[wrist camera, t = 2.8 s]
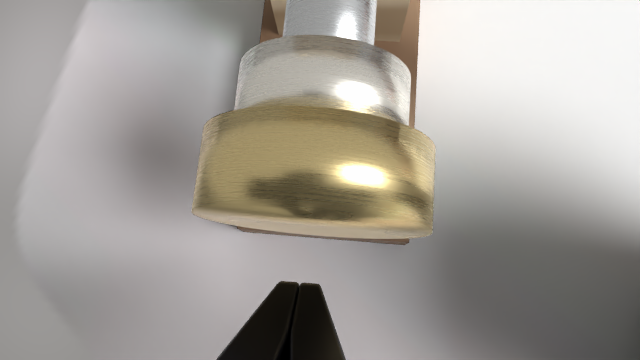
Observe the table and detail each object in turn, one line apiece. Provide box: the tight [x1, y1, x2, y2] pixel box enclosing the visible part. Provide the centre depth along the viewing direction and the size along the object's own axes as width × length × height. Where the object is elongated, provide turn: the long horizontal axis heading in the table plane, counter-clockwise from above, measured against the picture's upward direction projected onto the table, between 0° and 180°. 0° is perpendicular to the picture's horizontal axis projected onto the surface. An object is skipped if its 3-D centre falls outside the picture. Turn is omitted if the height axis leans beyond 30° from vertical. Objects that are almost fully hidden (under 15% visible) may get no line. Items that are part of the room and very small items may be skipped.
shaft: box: [191, 0, 435, 239], centre depth 11 cm, size 9×5×5 cm, turn 175°
